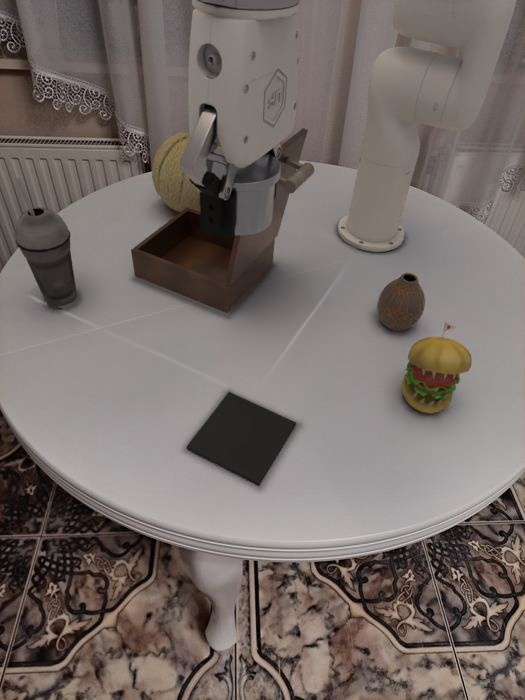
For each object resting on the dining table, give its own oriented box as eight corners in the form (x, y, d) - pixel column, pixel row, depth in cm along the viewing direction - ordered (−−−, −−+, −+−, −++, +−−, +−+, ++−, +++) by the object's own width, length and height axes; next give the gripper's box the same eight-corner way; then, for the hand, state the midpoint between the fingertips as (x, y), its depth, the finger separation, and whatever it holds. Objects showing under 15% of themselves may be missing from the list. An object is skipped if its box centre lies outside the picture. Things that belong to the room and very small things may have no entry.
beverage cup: (73, 319, 76) (38, 198, 62) (28, 311, 77) (-17, 189, 63) (94, 290, 81) (66, 171, 67) (51, 282, 82) (15, 163, 68)
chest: (135, 279, 84) (130, 249, 80) (188, 235, 94) (186, 207, 90) (226, 316, 79) (227, 287, 75) (272, 265, 89) (275, 237, 85)
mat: (228, 394, 68) (228, 391, 68) (296, 425, 65) (296, 422, 65) (186, 449, 62) (186, 446, 61) (259, 486, 59) (259, 483, 58)
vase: (419, 314, 82) (436, 269, 76) (414, 342, 77) (431, 297, 71) (377, 303, 83) (390, 258, 77) (369, 330, 78) (382, 285, 72)
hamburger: (399, 417, 67) (425, 354, 58) (389, 376, 72) (412, 312, 63) (457, 419, 67) (491, 356, 59) (443, 378, 72) (473, 315, 64)
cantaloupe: (144, 222, 96) (134, 144, 85) (170, 186, 106) (165, 112, 96) (219, 235, 94) (219, 157, 84) (239, 197, 105) (241, 123, 94)
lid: (248, 171, 60) (283, 188, 60) (303, 127, 70) (333, 141, 70) (224, 283, 74) (252, 298, 74) (273, 233, 84) (298, 247, 84)
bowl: (226, 191, 51) (227, 140, 47) (289, 212, 49) (294, 159, 45) (186, 222, 46) (183, 168, 43) (253, 246, 44) (256, 191, 41)
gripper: (227, 14, 28) (225, 275, 41) (344, -28, 39) (314, 188, 52) (118, -8, 30) (149, 246, 43) (259, -42, 41) (250, 168, 54)
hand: (239, 213), depth 47 cm, fingers closed on bowl, 7 cm apart
